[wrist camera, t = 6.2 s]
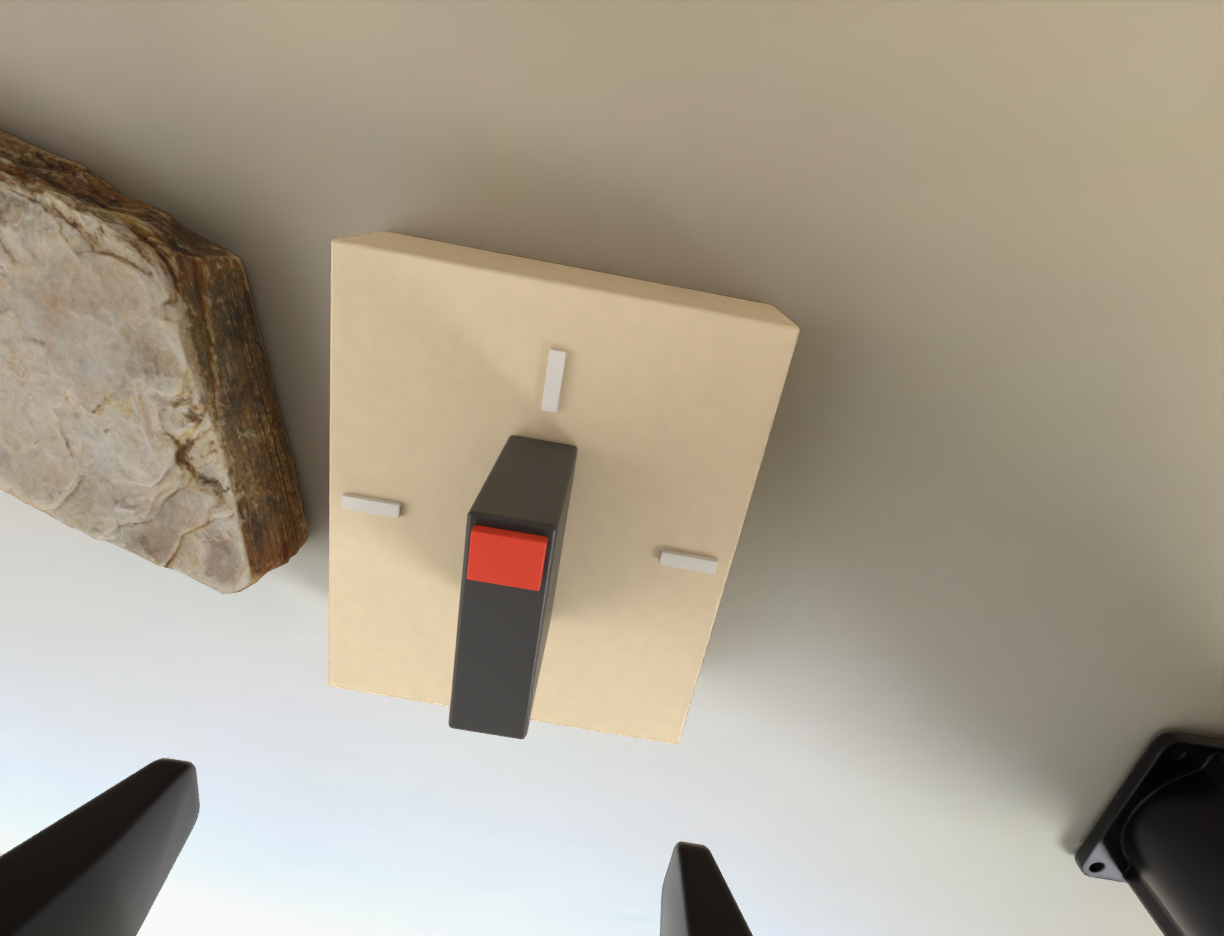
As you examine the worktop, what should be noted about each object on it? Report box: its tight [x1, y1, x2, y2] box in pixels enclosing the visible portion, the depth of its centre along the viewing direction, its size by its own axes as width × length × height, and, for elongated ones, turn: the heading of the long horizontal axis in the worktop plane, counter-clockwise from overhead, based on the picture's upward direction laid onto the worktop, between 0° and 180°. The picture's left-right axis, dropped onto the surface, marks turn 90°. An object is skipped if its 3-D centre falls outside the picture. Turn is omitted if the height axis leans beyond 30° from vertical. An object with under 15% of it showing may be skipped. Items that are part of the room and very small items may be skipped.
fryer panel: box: [328, 231, 800, 744], centre depth 17 cm, size 12×10×3 cm
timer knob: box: [449, 435, 578, 739], centre depth 14 cm, size 5×2×4 cm, turn 170°
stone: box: [0, 130, 308, 594], centre depth 16 cm, size 15×8×3 cm, turn 62°
